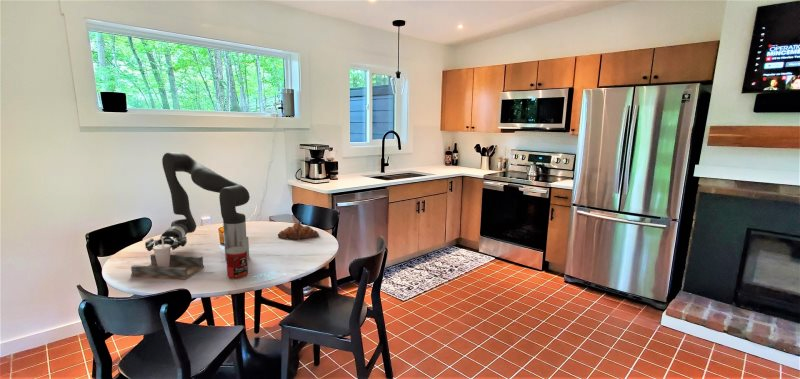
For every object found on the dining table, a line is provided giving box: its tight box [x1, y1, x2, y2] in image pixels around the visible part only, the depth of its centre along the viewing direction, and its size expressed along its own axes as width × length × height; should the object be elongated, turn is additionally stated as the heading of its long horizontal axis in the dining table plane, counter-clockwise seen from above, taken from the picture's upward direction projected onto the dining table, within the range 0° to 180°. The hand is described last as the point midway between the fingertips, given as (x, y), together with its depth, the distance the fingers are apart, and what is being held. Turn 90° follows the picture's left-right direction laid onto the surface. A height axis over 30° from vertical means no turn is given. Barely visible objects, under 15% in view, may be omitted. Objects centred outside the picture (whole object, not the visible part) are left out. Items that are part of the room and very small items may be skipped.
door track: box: [130, 253, 205, 281], centre depth 153 cm, size 22×13×5 cm, turn 86°
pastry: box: [277, 222, 320, 241], centre depth 204 cm, size 17×15×8 cm
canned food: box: [225, 246, 249, 280], centre depth 150 cm, size 8×8×11 cm
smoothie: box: [152, 236, 172, 267], centre depth 152 cm, size 6×6×14 cm
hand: (161, 248), depth 150 cm, fingers open, 8 cm apart
